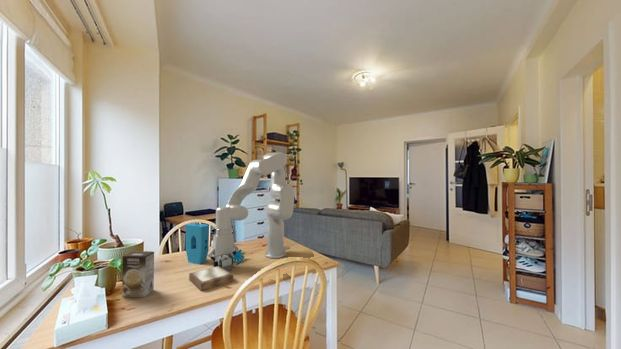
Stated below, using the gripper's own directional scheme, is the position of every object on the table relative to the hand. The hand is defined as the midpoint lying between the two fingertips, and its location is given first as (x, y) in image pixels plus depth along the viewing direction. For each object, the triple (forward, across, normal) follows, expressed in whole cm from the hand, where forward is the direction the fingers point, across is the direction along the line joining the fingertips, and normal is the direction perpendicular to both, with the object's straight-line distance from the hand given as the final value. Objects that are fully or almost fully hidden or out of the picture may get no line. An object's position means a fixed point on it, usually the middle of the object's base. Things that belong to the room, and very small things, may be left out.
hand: (223, 266), depth 127 cm
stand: (+1, +10, +9) cm, 14 cm away
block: (+1, +6, -19) cm, 20 cm away
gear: (+2, -10, -6) cm, 12 cm away
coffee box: (+1, +36, +1) cm, 36 cm away
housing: (+1, 0, 0) cm, 1 cm away
